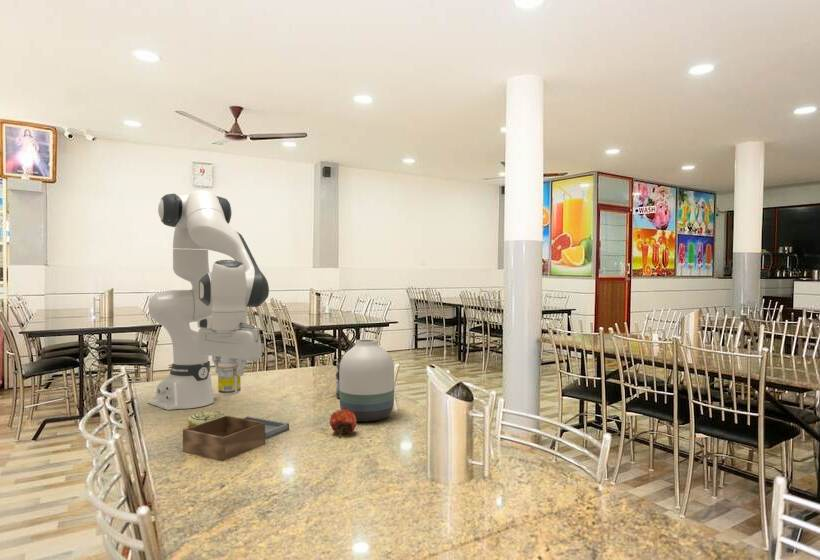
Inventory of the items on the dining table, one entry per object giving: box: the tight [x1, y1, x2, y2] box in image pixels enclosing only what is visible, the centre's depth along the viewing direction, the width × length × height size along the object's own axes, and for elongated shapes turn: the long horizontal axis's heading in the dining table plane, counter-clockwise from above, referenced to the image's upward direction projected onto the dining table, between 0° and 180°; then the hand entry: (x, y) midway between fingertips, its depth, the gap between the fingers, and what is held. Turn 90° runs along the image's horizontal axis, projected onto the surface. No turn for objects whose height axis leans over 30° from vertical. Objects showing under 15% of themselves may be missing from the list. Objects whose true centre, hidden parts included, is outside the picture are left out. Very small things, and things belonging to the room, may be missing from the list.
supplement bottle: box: [217, 356, 241, 396], centre depth 136 cm, size 6×6×10 cm
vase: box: [339, 338, 395, 422], centre depth 161 cm, size 17×17×24 cm
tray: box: [242, 416, 290, 440], centre depth 148 cm, size 16×10×2 cm, turn 62°
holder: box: [182, 415, 266, 462], centre depth 134 cm, size 14×14×6 cm
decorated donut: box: [187, 410, 227, 428], centre depth 152 cm, size 10×11×4 cm
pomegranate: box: [329, 408, 357, 440], centre depth 144 cm, size 7×7×10 cm
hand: (229, 374), depth 136 cm, fingers closed on supplement bottle, 5 cm apart
